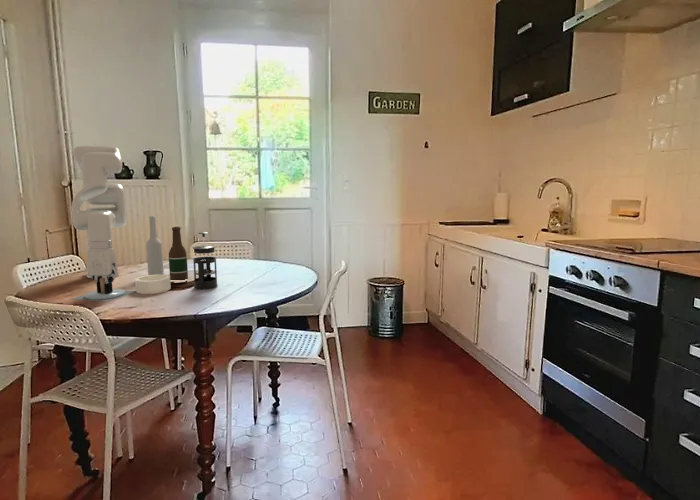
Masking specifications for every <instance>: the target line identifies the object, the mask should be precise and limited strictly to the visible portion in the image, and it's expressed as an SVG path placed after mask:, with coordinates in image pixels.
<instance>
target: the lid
mask: <svg viewBox="0 0 700 500" xmlns="http://www.w3.org/2000/svg"><path fill="white" fill-rule="evenodd" d="M104 284H105V277H101V278H100V288H101V293H97V289H96V290H92V291H88V292H87V293H84V295H85V298H86V299H90V300H102V299H111V298H116V297H120V296H122V295H124V294H125V291H126V290H125V289H122V288H121V289H120V288H112V290H113V292H112V293H109V294H105V289H104Z"/></svg>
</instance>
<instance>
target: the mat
mask: <svg viewBox="0 0 700 500" xmlns="http://www.w3.org/2000/svg"><path fill="white" fill-rule="evenodd" d="M135 293H137V292H136V290H125V294H124V295H122V296H120V297H116V298H111V299H102V300H90V299H86V298H85V294H83V295H79V296H77V297H74V298H73V297H72V298H71V300H78V301H89V302H98V303H99V302H100V303H109V302H112V301H114V300H117V299H121V298H122V297H123V298H124V297H126V296H129V295H132V294H135Z"/></svg>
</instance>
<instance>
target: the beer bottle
mask: <svg viewBox="0 0 700 500" xmlns="http://www.w3.org/2000/svg"><path fill="white" fill-rule="evenodd" d="M171 230H172V243H171V247H170V249H169V252H168V266H169V277H170V280H185V279H188V280H189V271H188V268H189V267H188V256H187V251H186V250H187V249H186V248H185V246H184V245H183V243H182V235H181V234H182V233H181V230H182V229H181V227H180V226H172V228H171Z"/></svg>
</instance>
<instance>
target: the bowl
mask: <svg viewBox="0 0 700 500" xmlns="http://www.w3.org/2000/svg"><path fill="white" fill-rule="evenodd" d="M134 284H135V291H136V293H137V294H141V295H155V294H160V293H165V292H168V291H169V290H170V289H172V288H171V287H172V286H171V285H172V283H171V282H170V274H169V275H168V274H164V275H159V274H156V275H148V274H147V275H142V276H139V277H135V278H134Z"/></svg>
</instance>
